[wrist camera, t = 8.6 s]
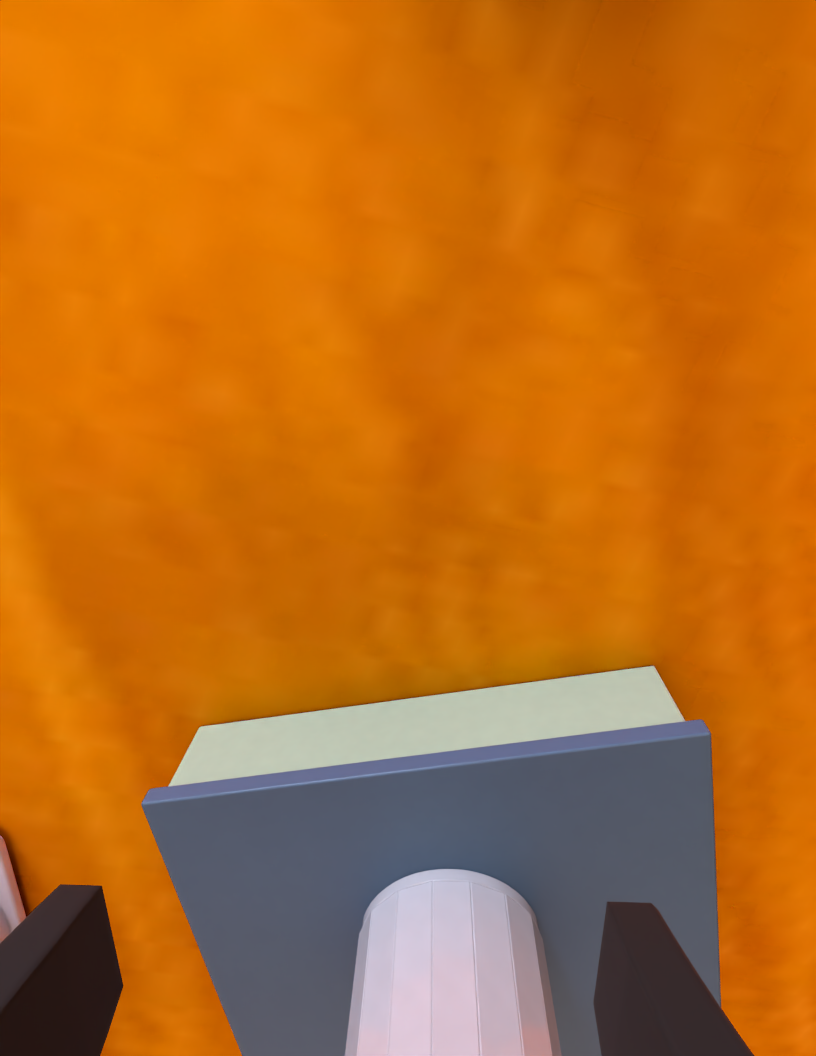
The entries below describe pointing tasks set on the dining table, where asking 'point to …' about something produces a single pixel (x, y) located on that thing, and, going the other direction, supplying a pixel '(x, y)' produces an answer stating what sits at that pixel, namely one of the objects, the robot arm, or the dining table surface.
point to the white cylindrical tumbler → (451, 972)
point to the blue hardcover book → (437, 837)
